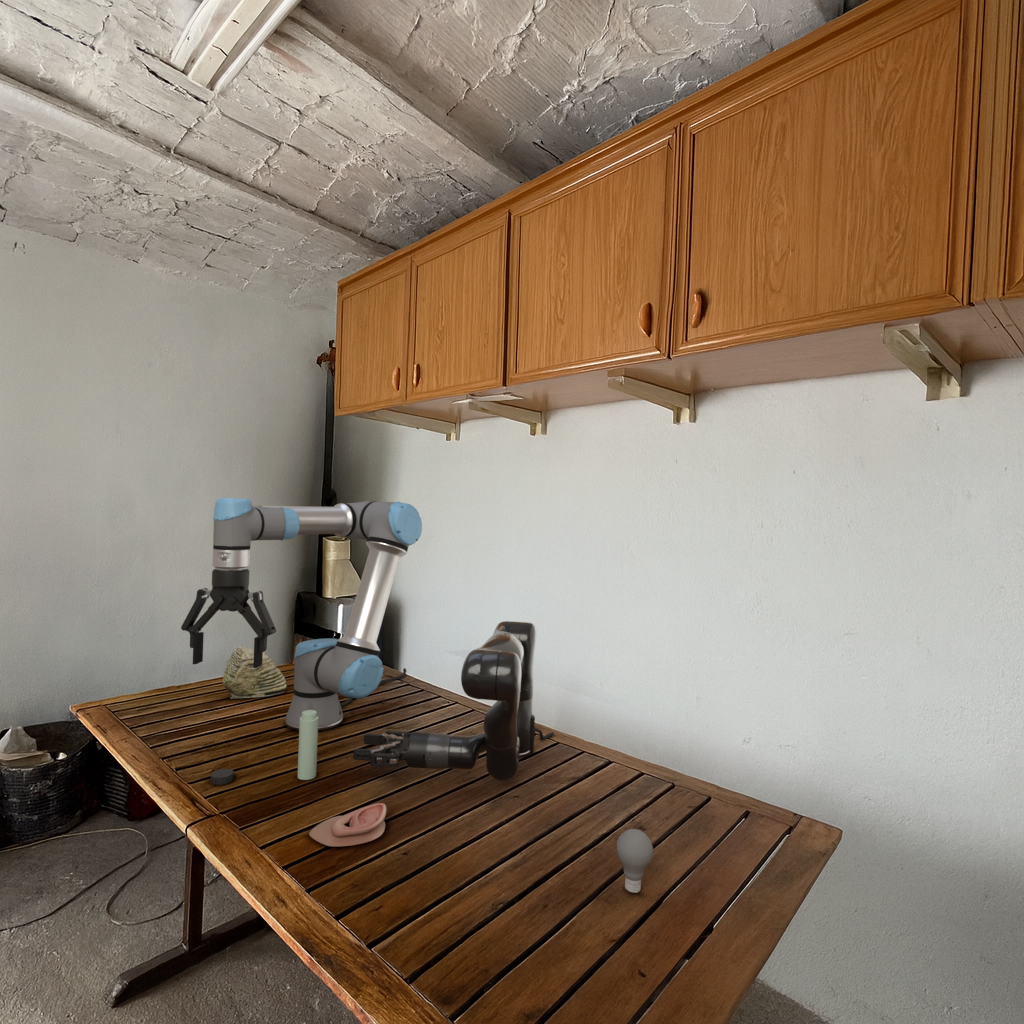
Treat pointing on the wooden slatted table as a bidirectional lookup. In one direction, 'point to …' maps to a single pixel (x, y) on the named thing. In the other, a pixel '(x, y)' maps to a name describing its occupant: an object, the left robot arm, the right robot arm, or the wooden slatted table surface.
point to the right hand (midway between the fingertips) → (359, 746)
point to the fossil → (252, 676)
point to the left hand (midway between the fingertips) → (227, 664)
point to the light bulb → (634, 857)
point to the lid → (222, 776)
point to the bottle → (307, 745)
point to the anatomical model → (352, 827)
